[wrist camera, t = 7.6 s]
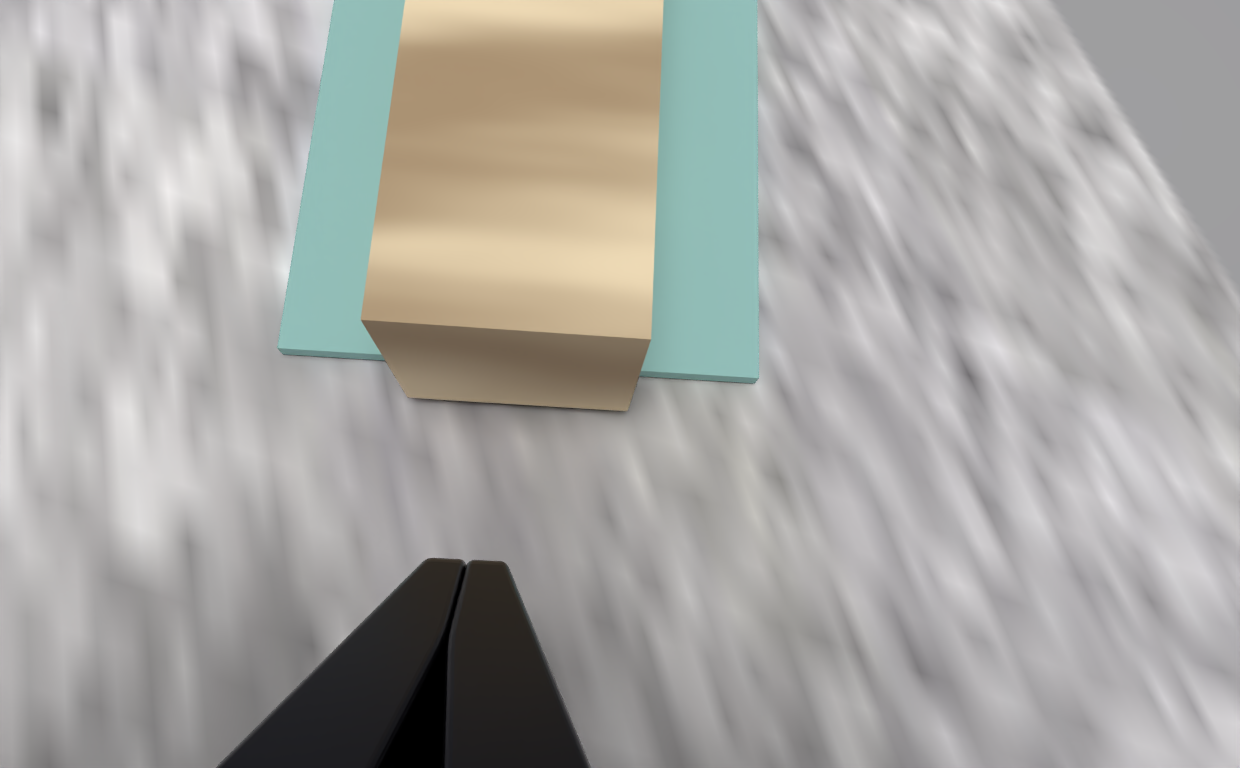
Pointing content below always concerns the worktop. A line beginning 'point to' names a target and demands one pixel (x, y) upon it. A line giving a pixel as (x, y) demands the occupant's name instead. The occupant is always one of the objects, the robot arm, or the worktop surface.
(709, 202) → the rubber mat
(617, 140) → the maple block
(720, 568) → the worktop surface
